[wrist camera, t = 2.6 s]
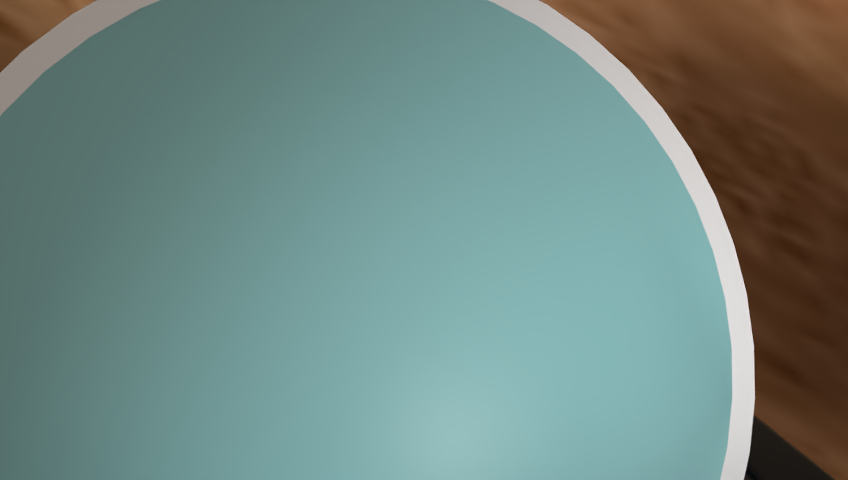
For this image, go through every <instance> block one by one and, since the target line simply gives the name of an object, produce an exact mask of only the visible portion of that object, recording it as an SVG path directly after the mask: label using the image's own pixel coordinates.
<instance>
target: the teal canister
mask: <svg viewBox="0 0 848 480" xmlns="http://www.w3.org/2000/svg"><path fill="white" fill-rule="evenodd" d="M754 403H755V378H754V343H753V336H752V329H751V321H750V314H749V307H748V299H747V293H746V289H745V285H744V281H743V277H742V274H741V270H740V266H739V262H738V258H737V254H736V250H735V246H734V243H733V240H732V238H731V235H730V232H729V230H728V227H727V225H726V222H725V220H724V217H723V214H722V212H721V209H720V207H719V204H718V201H717V199H716V196H715V194H714V192H713V190H712V188H711V187H710V185H709V183H708V181H707V179H706V177H705V175H704V173H703V171H702V169H701V168H700V166H699V164H698V162H697V160H696V158H695V156H694V154H693V152H692V150H691V149H690V147H689V146H688V145H687V143H686V142H685V140H684V139H683V137H682V136H681V134H680V133H679V131H678V130H677V129H676V127H675V126H674V124H673V123H672V121H671V120H670V118H669V117H668V115H667V114H666V113H665V111H664V110H663V108H662V107H661V106H660V105H659V104H658V102H657V101H656V100H655V99H654V98H653V97H652V96H651V94H650V93H649V92H648V91H647V90H646V89H645V88H644V86H643V85H642V84H641V83H640V82H639V81H638V80H637V78H636V77H635V76H634V75H633V74H632V73H631V72H630V70H629V69H628V68H626V67H625V66H624V65H623V64H622V63H621V62H620V61H619V60H618V59H616V58H615V57H614V56H613V55H612V54H611V53H610V52H609V51H608V50H606V49H605V48H604V47H603V46H602V45H601V44H600V43H599V42H598V41H596V40H595V39H594V38H593V37H592V36H591V35H590V34H588V33H587V32H585V31H584V30H583V29H581V28H580V27H578V26H577V25H575V24H574V23H573V22H571V21H570V20H568V19H567V18H565V17H564V16H563V15H561V14H560V13H558V12H557V11H555V10H554V9H553V8H551V7H550V6H548V5H547V4H545V3H543V2H541V1H539V0H96V1H95V2H93V3H91V4H89V5H87V6H86V7H84V8H82V9H80V10H78V11H77V12H75V13H73V14H71V15H70V16H69V17H67V18H66V19H65V20H63V21H62V22H61V23H59V24H58V25H57V26H55V27H54V28H53V29H51V30H50V31H49V32H47V33H46V34H45V35H43V36H42V37H41V38H39V39H38V40H37V41H35V42H34V43H33V44H31V45H30V46H29V47H27V48H26V49H25V50H23V51H22V52H21V53H20V54H19V55H18V56H17V57H16V58H15V59H14V60H13V61H12V62H11V63H10V64H9V65H8V66H7V67H6V68H5V69H4V70H3V71H2V72H0V480H744V477H745V472H746V467H747V463H748V458H749V453H750V445H751V434H752V424H753V413H754Z"/></svg>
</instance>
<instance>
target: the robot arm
mask: <svg viewBox="0 0 848 480" xmlns="http://www.w3.org/2000/svg"><path fill="white" fill-rule="evenodd" d="M744 480H835V479H834V478H833V477H832V476H830V475H829V474H828V473H826V472H825V471H824V470H823V469H821V468H820V467H819V466H818V465H816V464H815V463H814V462H813V461H811V460H810V459H809V458H808V457H806V456H805V455H804V454H802V453H801V452H800V451H799V450H797V449H796V448H795V447H794V446H792V445H791V444H790V443H789V442H787V441H786V440H785V439H784V438H782V437H781V436H780V435H778V434H777V433H776V432H775V431H773V430H772V429H771V428H770V427H768V426H767V425H766V424H765V423H763V422H762V421H761V420H760V419H758V418H757V417H756V416H754V415H753V424H752V434H751V445H750V453H749V458H748V463H747V467H746V472H745V477H744Z"/></svg>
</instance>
